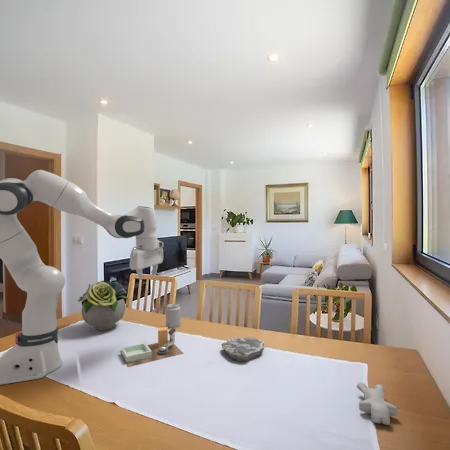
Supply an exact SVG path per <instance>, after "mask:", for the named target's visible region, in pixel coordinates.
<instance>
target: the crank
mask: <svg viewBox="0 0 450 450" xmlns="http://www.w3.org/2000/svg"><path fill="white" fill-rule="evenodd" d="M176 332H177V331H176V328H170V329H169V330H168V335H169V336H168V337H169V341H168V342H167V343H166V344H164V345H163V346H160V347H159V351H161V352H164V351H166V350H167V348H169V347H170V346H171V345H172V344H175V343H176V341H175V339H176V338H175V336H176V335H175V333H176Z"/></svg>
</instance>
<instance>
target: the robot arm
mask: <svg viewBox="0 0 450 450" xmlns="http://www.w3.org/2000/svg"><path fill="white" fill-rule="evenodd" d="M36 201H37V202H41V203H44V204H46V205H47V206H50V207H53V209H56V210H58V211H61V212H64V213H67V214H69V215H74V216H79V217H83V218H85V219H87V220H89V221H91V222H93V223H95V224H97V225H99V226H101V227H103V229H105V231H106V232H107V233H108V234H109V235H110V236H111V237H113V238H114V239H130V238H132V237H135V246H133V248H132V249H131V252H130V255H129V256H130V257H129V269H130V270H131V271H136V273H137V275H138V280H139V281H140V280H144V279H145V274H144V273H143V270H144V269H145V268H149V267H152V270H151V272H150V273H151V276H156V275H157V270H158V267H159V265H160V264H162V263H163V261H164V249H163V248H164V241H163V242H162V241H161V240H159V239H158V234H157V229H158V223H157V221H158V220H157V215H156V212H155V209H154V208H152V207H150V206H141V205H138V206H137V207H135V208H134V209H132V210H131V211H129V212H126V213H124V214H114V213H113V214H112V213H110V212H108V211H106V210H105V209H102V208H101V207H99V206H97V205H95V204H94V203H93V202H92V201H91V200H90V199H89V197H88V195H87V193H86V191H84V190H83V189H82V188H81V187H79V186H78V185H77V184H75V183H74V182H72V181H70V180H68V179H65V178H64V177H62V176H59V175H57V174H54V173H53V172H49V171H46V170H44V169H37V170H34V171H33V172H31V173H30V174H29V175H28V176H27V178H26V179H25V180H24V179H22V178H20V177H16V176H15V177H13V176H12V177H10V176H9V177H6V178H3V179H1V180H0V259H1V260H2V262H3V264H4V265H5V267H6V268H7V270H8V272H9V274H10V276H11V278H12V280H14V282H15V284H16V285H17V287H18V288H19V289H20V290H22V291H23V292H25V293H26V300H25V306H24V309H23V310H22V312H21V324H22V325H21V326H22V327H21V328H22V329H21V331H17V332H16V333H15V335H14V336H15V344H14V345H13V346H12V347H10V349H8V350H7V351H6V352H4V353H3V354H2V355H1V356H0V385H8V384H12V383H21V382H26V381H31V380H38V379H41V378H44V377H45V376H46V375H47V374H50V373H51V372H53V371H55V370H57V369H58V368H60V367H61V366H62V364H63V361H62V359H61V354H60V351H59V345H58V344H59V335H60V334H59V327H58V325H57V324H58V323H57V321H58V319H57V312H58V311H57V309H58V302H59V299H60V294H61V291H62V290H63V289H64V288H65V287H64V286H65V284H66V277H65V275H64V274H63V272H61V271H60V270H59V269H58V268H56V267H55V266H50V265H46V264H45V263H43V261H42V259H41V257H40V254H39V252H38V247H37V245H36V244H35V242H34V241H33V239H32V238H31V236H30V235H29V234H28V232H27V231H26V229H25V227H24V226H23V225H22V223H21V222H20V221H19V219H18V217H17V216H18V215H17V214H18V213H20V212H22V211H23V210H24V209H26V208H27V206H29V205H30V204H31V203H33V202H36Z"/></svg>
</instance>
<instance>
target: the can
mask: <svg viewBox="0 0 450 450" xmlns="http://www.w3.org/2000/svg"><path fill="white" fill-rule="evenodd" d="M181 313H182V312H181V306H180V304H179V303H170V304H167V305H166V308H165V327H168V329H172V328H174V329H177V328H178V329H179V328H181V326H182V325H181V324H182V323H181V322H182V320H181V319H182V318H181V316H182V314H181Z"/></svg>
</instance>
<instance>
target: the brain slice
mask: <svg viewBox="0 0 450 450" xmlns="http://www.w3.org/2000/svg"><path fill="white" fill-rule="evenodd" d="M220 345H221V348H222V350H224V351H225V353H226V354H227V356H228V357H230V358H231V359H234V360H237V361H238V362H248V361H249V360H250V361H251V360H252V359H255V358H256V357H258V356H260V354H262V352H263V349H264V346H265V341H264V340H262V339H260V338H256V337H252V336H249V337H248V336H246V337H245V336H243V337H231V338H228V339H226V342H225V341H224V342H223V343H221V344H220Z"/></svg>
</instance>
